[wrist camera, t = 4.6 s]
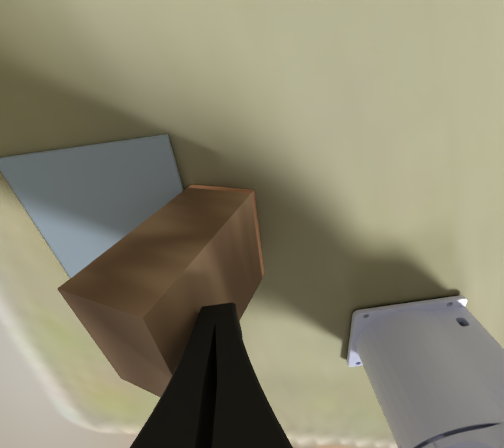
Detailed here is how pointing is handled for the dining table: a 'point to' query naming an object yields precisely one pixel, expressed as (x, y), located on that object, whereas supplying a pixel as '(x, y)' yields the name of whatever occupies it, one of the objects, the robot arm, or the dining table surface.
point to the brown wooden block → (169, 280)
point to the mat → (93, 193)
